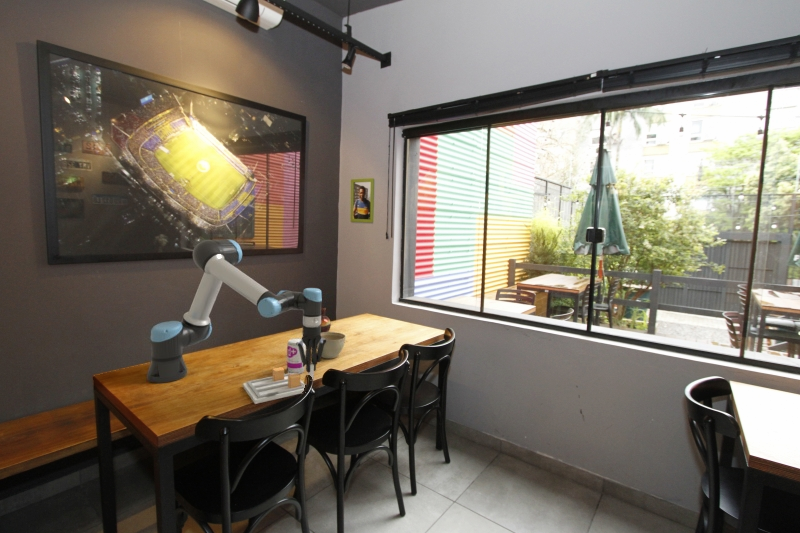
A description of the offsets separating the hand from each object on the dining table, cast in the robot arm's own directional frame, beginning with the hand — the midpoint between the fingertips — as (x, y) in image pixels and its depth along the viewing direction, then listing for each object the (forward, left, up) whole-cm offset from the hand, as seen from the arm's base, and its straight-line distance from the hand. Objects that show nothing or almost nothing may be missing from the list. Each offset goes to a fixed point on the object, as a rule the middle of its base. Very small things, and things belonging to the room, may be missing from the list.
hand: (310, 378), depth 165 cm
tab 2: (-7, 0, -2) cm, 8 cm away
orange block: (-11, +10, -2) cm, 15 cm away
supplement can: (+1, +19, -4) cm, 19 cm away
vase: (+39, +74, -4) cm, 84 cm away
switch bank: (-13, +5, -4) cm, 15 cm away
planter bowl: (+24, +31, -4) cm, 39 cm away
